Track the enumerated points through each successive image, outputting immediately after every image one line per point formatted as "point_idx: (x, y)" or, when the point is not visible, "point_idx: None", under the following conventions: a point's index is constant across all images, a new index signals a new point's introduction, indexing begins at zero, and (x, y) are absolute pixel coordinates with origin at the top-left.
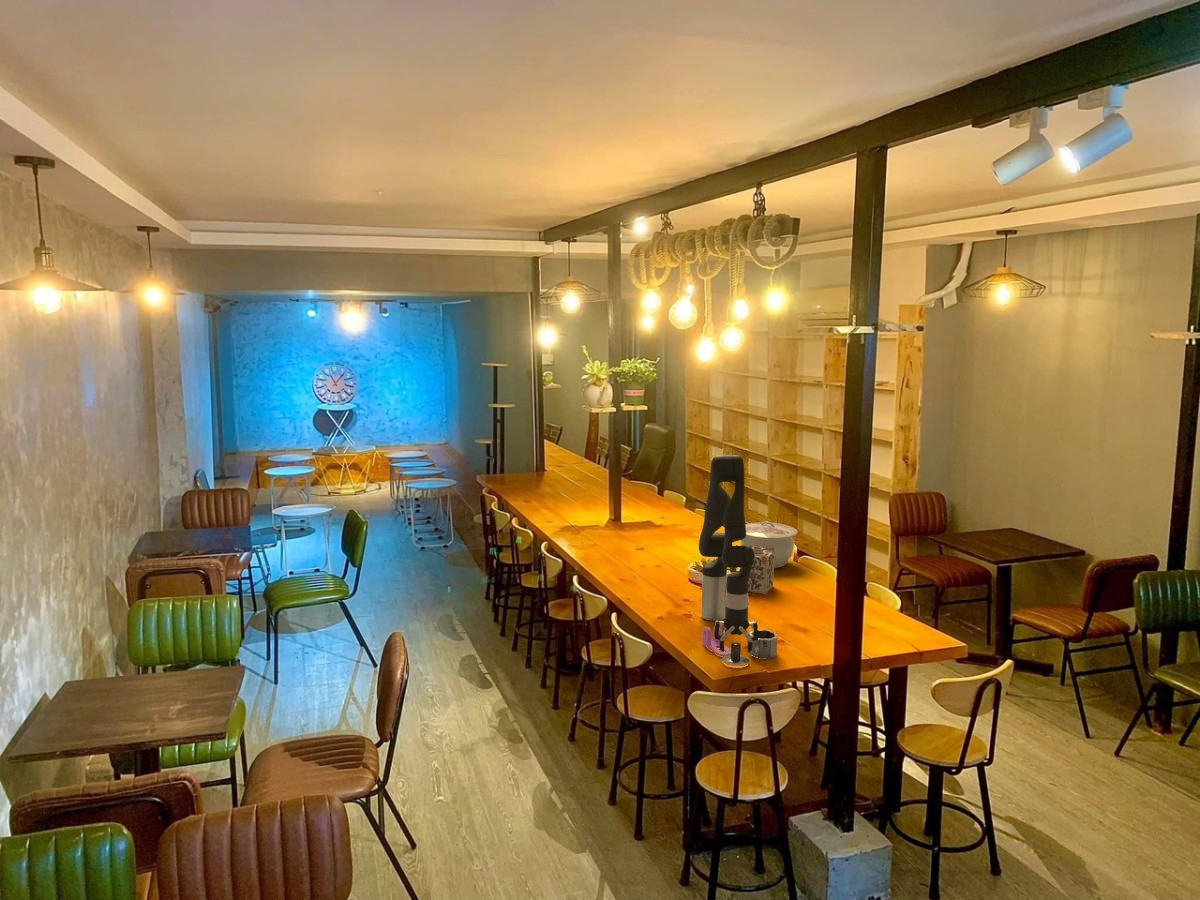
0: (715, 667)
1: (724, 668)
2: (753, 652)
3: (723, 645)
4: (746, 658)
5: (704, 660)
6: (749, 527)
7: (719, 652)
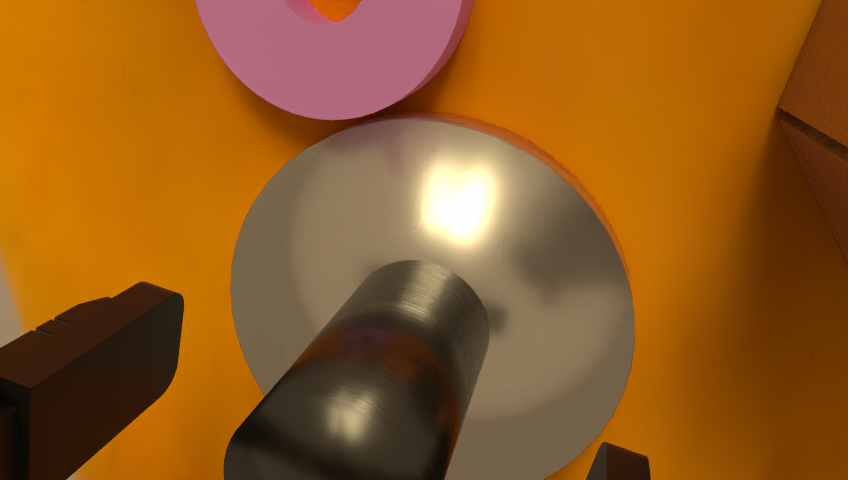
0: None
1: None
2: (832, 202)
3: (80, 452)
4: (606, 325)
5: (57, 141)
6: None
7: (242, 22)
